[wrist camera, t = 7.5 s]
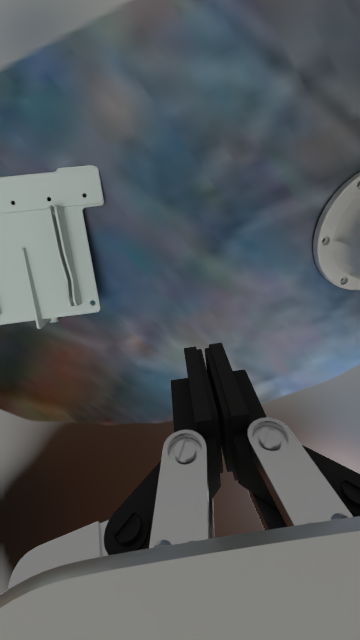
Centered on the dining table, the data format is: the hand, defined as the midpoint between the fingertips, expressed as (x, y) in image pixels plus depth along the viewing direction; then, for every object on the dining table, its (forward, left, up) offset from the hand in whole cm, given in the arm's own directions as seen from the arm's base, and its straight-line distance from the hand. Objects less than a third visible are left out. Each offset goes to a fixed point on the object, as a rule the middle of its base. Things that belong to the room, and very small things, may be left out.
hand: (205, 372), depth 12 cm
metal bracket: (+13, -3, -18) cm, 23 cm away
